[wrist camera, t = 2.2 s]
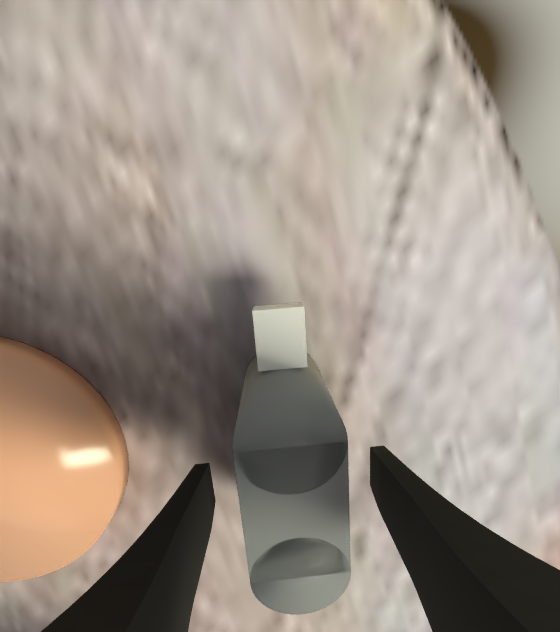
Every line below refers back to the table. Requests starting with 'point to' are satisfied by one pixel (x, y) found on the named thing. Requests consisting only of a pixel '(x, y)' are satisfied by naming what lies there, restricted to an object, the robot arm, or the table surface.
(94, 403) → the plate
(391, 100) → the table surface
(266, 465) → the connector
